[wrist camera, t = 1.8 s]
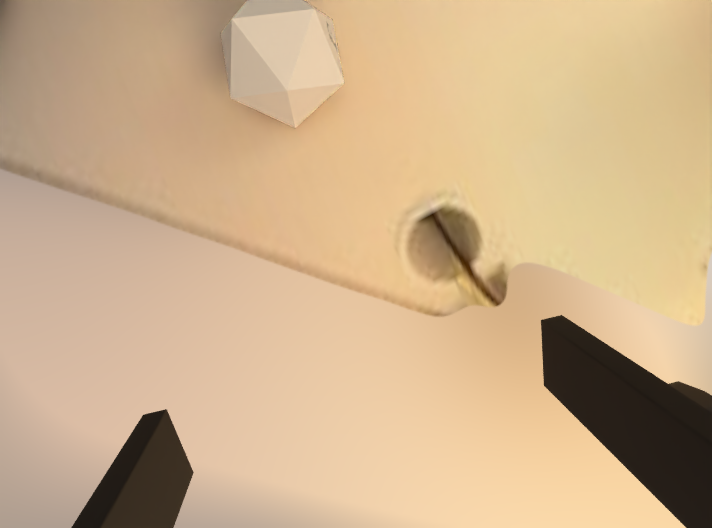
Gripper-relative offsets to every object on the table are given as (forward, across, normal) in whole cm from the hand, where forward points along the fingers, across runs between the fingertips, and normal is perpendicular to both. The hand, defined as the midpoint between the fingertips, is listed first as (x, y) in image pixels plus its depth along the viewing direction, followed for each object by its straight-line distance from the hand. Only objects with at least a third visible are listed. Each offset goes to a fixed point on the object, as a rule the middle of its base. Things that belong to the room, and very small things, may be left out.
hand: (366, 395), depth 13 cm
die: (+25, -1, +15) cm, 29 cm away
